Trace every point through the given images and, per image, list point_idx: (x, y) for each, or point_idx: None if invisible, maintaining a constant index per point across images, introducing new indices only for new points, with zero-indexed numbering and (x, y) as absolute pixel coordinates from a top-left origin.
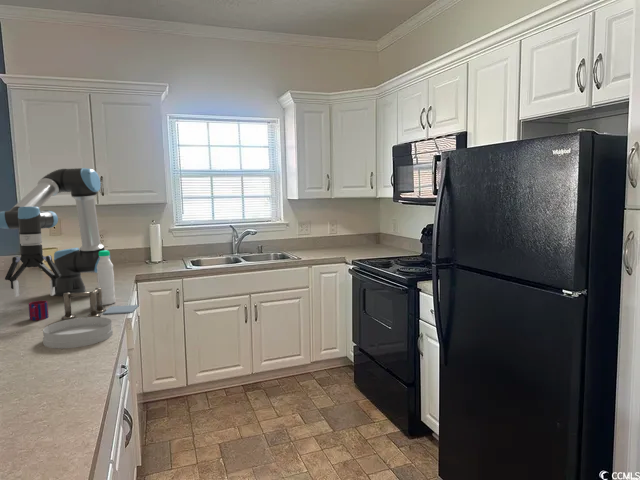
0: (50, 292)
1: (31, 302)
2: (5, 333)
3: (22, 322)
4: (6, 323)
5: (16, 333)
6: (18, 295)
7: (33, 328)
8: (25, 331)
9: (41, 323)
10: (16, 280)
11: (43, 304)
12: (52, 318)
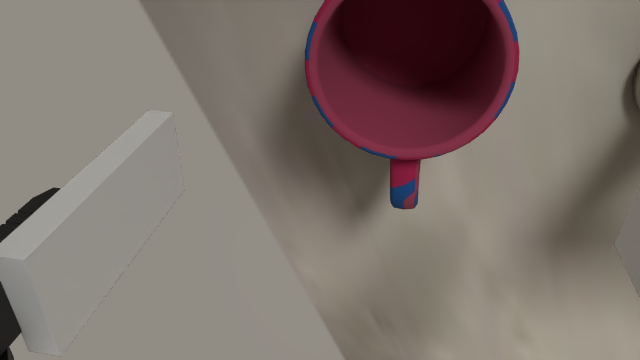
0: (632, 274)
1: (320, 36)
2: (322, 319)
3: (316, 113)
4: (205, 104)
5: (384, 338)
6: (172, 140)
7: (452, 284)
8: (422, 323)
9: (477, 188)
10: (8, 273)
11: (484, 121)
12: (542, 54)
